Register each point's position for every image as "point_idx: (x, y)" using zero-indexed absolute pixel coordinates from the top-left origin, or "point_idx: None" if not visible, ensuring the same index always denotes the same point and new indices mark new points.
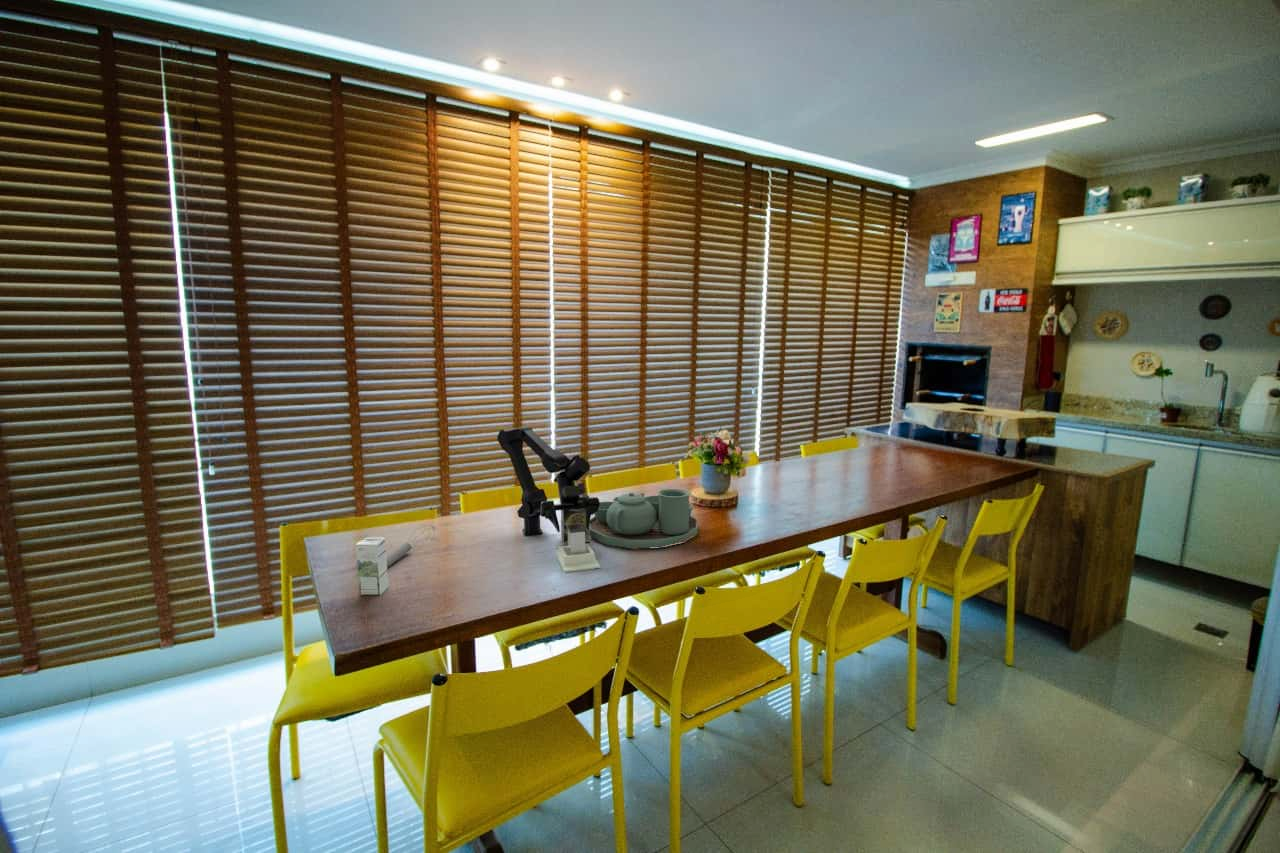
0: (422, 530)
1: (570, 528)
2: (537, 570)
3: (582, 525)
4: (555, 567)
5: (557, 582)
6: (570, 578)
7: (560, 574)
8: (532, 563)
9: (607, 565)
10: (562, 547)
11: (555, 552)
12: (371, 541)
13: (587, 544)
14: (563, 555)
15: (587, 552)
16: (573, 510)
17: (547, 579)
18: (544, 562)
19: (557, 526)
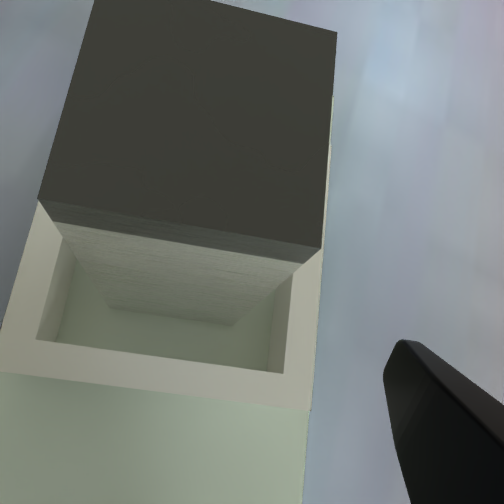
0: None
1: (318, 87)
2: (470, 213)
3: (66, 121)
4: (360, 205)
5: (391, 16)
6: (316, 22)
7: (355, 94)
8: (490, 345)
9: (21, 66)
10: (283, 374)
11: (301, 482)
12: None
13: (12, 344)
14: (326, 181)
15: (66, 277)
16: None
17: (433, 72)
18: (412, 326)
19: (463, 379)
